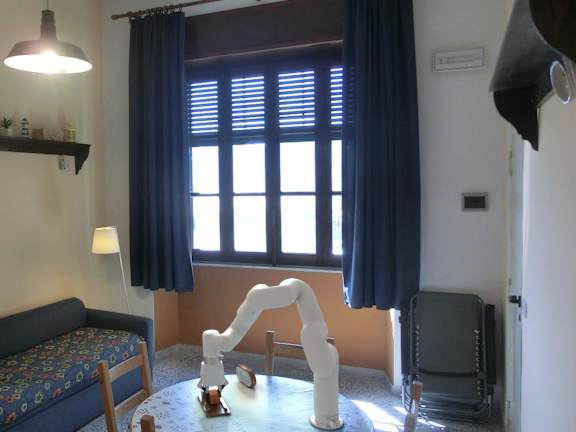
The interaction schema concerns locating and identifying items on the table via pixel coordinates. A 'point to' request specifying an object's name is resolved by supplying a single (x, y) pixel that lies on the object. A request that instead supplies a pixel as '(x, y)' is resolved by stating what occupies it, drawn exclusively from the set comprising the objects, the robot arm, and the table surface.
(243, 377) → the tin
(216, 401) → the block
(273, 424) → the table surface
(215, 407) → the cradle
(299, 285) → the robot arm
